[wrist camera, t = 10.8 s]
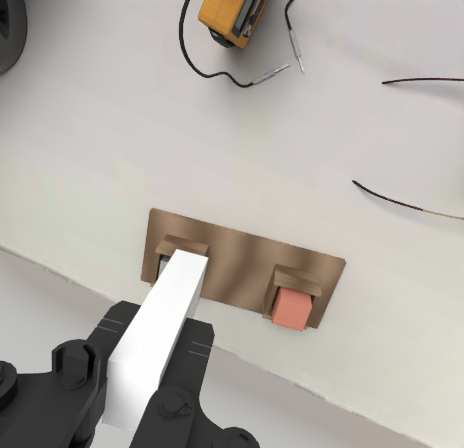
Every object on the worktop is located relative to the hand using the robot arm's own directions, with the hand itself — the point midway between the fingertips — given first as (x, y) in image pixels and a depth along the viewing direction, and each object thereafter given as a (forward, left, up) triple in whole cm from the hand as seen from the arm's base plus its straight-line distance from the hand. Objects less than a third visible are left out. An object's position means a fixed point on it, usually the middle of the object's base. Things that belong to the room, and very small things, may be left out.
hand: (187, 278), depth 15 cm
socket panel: (+14, -10, -29) cm, 34 cm away
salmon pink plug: (+20, -4, -27) cm, 34 cm away
